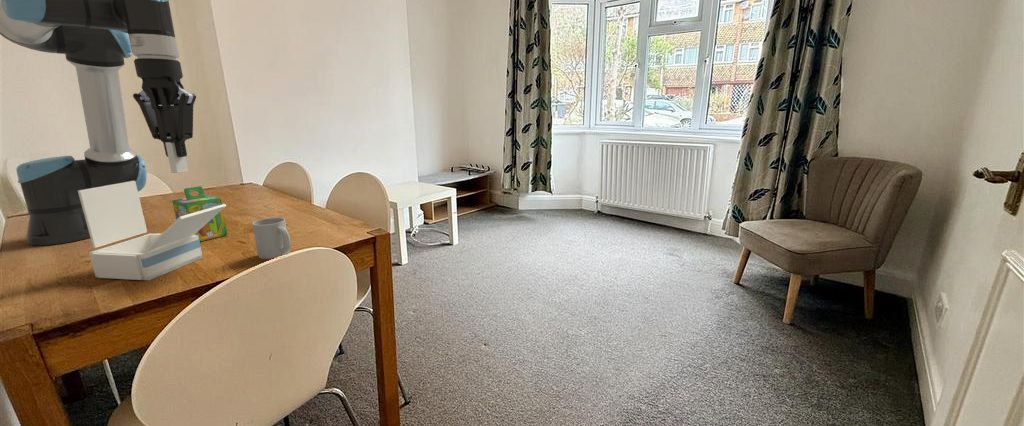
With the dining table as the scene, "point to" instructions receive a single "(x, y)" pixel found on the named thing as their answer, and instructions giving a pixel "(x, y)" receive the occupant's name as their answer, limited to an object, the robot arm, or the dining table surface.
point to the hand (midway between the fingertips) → (179, 171)
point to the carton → (144, 258)
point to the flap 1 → (112, 212)
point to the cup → (271, 237)
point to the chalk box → (198, 203)
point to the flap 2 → (185, 226)
